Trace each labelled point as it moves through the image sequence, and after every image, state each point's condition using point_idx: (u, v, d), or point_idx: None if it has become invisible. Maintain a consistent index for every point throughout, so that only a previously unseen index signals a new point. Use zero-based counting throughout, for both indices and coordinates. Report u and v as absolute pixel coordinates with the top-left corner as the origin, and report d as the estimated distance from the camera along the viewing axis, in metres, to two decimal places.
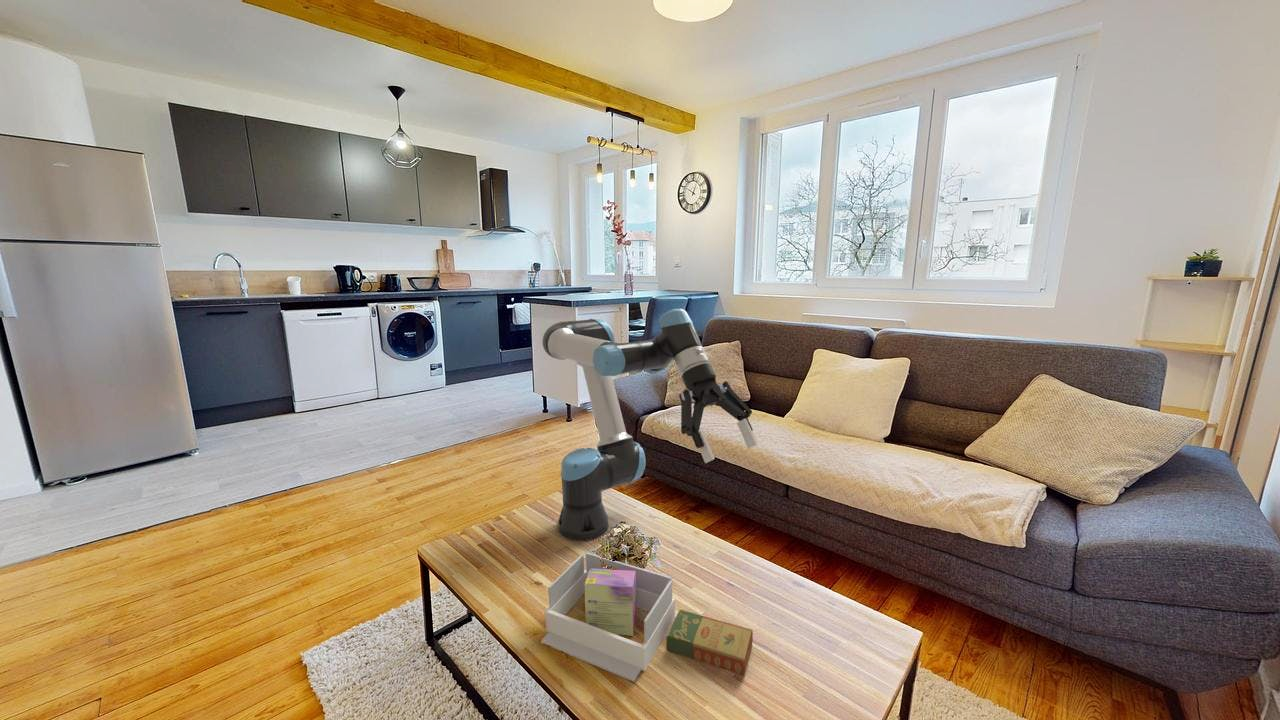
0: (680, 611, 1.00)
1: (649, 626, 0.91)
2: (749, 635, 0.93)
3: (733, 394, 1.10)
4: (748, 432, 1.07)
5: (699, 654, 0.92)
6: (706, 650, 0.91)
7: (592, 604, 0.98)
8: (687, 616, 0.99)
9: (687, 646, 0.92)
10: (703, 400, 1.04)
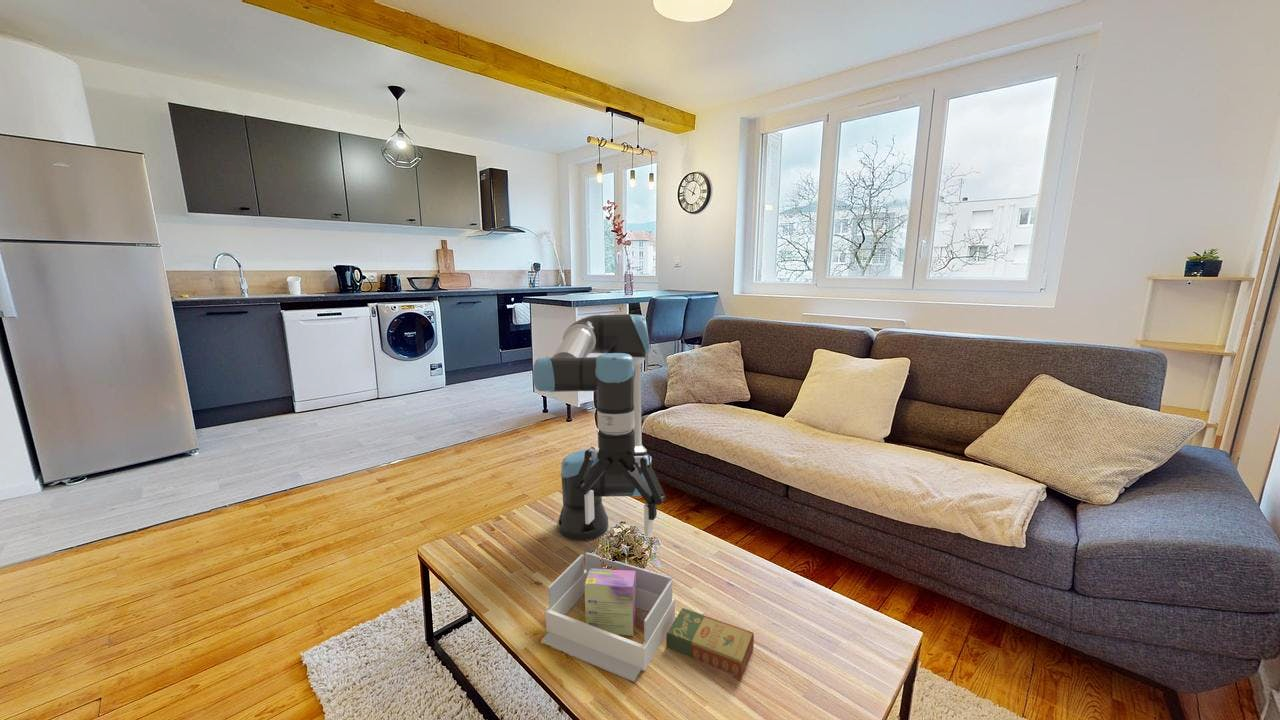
0: (683, 609, 1.01)
1: (649, 626, 0.91)
2: (749, 638, 0.93)
3: (645, 475, 0.92)
4: None
5: (697, 653, 0.92)
6: (704, 650, 0.91)
7: (592, 604, 0.98)
8: (689, 615, 0.99)
9: (686, 644, 0.93)
10: (599, 469, 0.95)
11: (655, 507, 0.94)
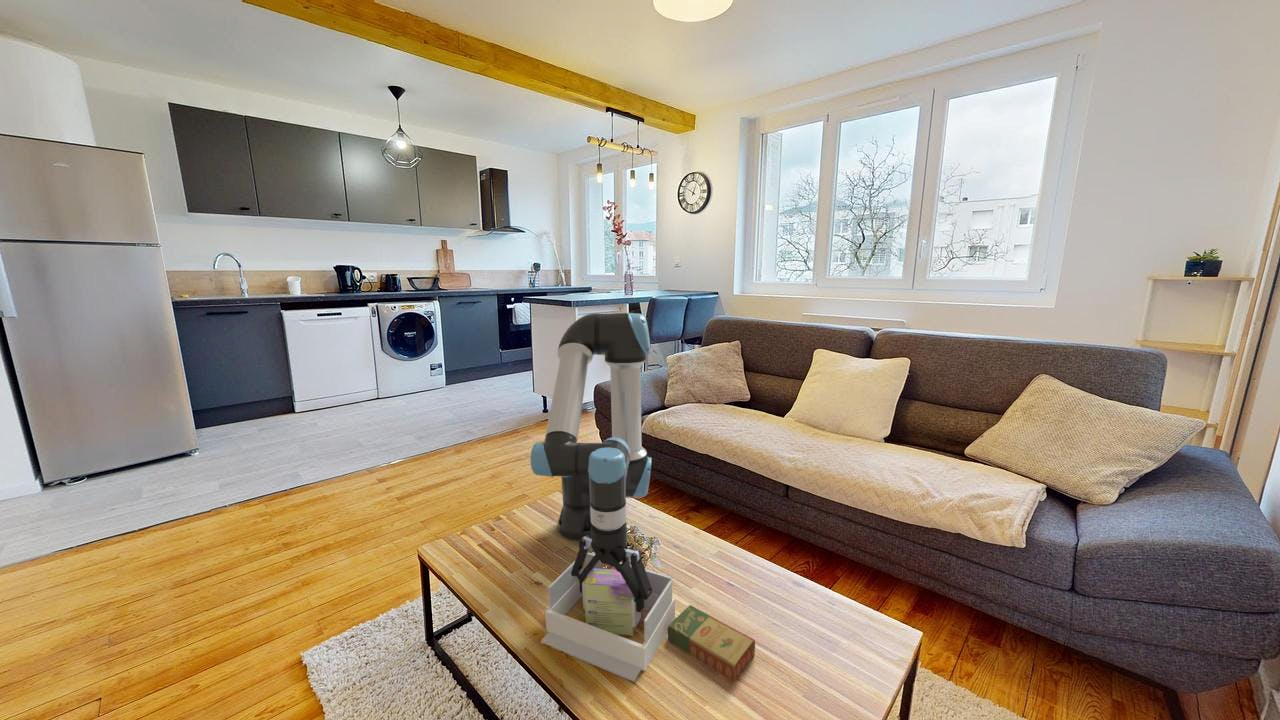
0: (689, 606, 1.02)
1: (649, 626, 0.91)
2: (749, 644, 0.91)
3: (634, 571, 0.95)
4: None
5: (694, 650, 0.92)
6: (700, 648, 0.91)
7: (592, 604, 0.98)
8: (694, 612, 1.00)
9: (684, 639, 0.94)
10: (593, 559, 0.98)
11: (642, 600, 0.97)
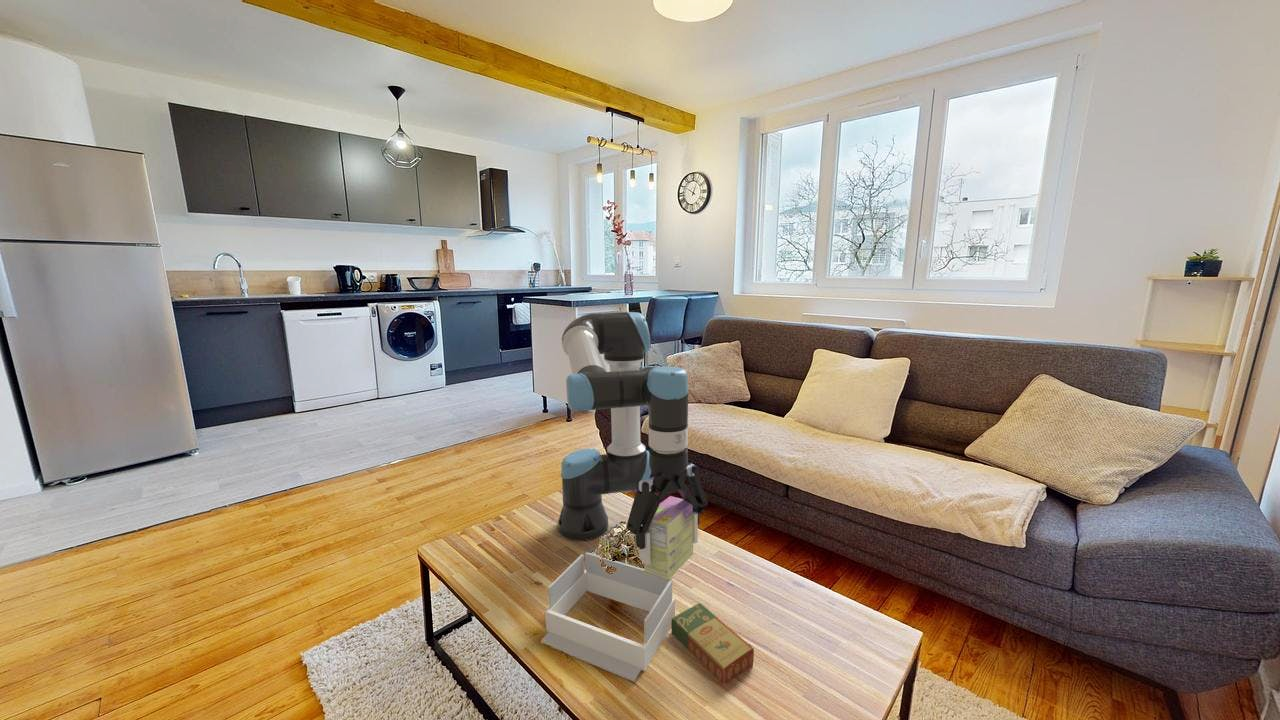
0: (698, 604, 1.02)
1: (649, 626, 0.91)
2: (746, 651, 0.89)
3: (697, 482, 0.94)
4: (693, 528, 0.95)
5: (692, 647, 0.93)
6: (696, 645, 0.92)
7: (672, 543, 0.88)
8: (701, 611, 1.00)
9: (684, 634, 0.95)
10: (662, 496, 0.88)
11: None
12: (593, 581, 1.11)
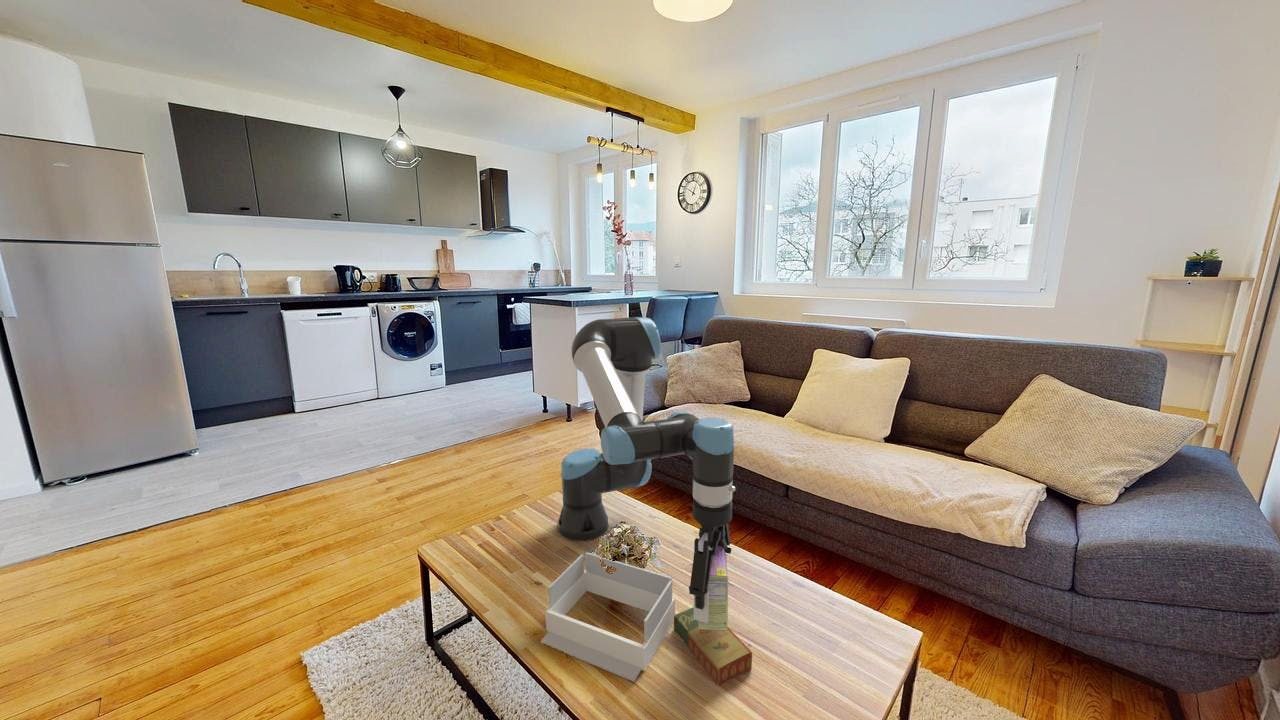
0: None
1: (649, 626, 0.91)
2: (743, 654, 0.89)
3: (727, 525, 0.96)
4: None
5: (691, 645, 0.94)
6: (695, 644, 0.92)
7: None
8: None
9: (685, 632, 0.96)
10: (715, 549, 0.87)
11: None
12: (593, 581, 1.11)
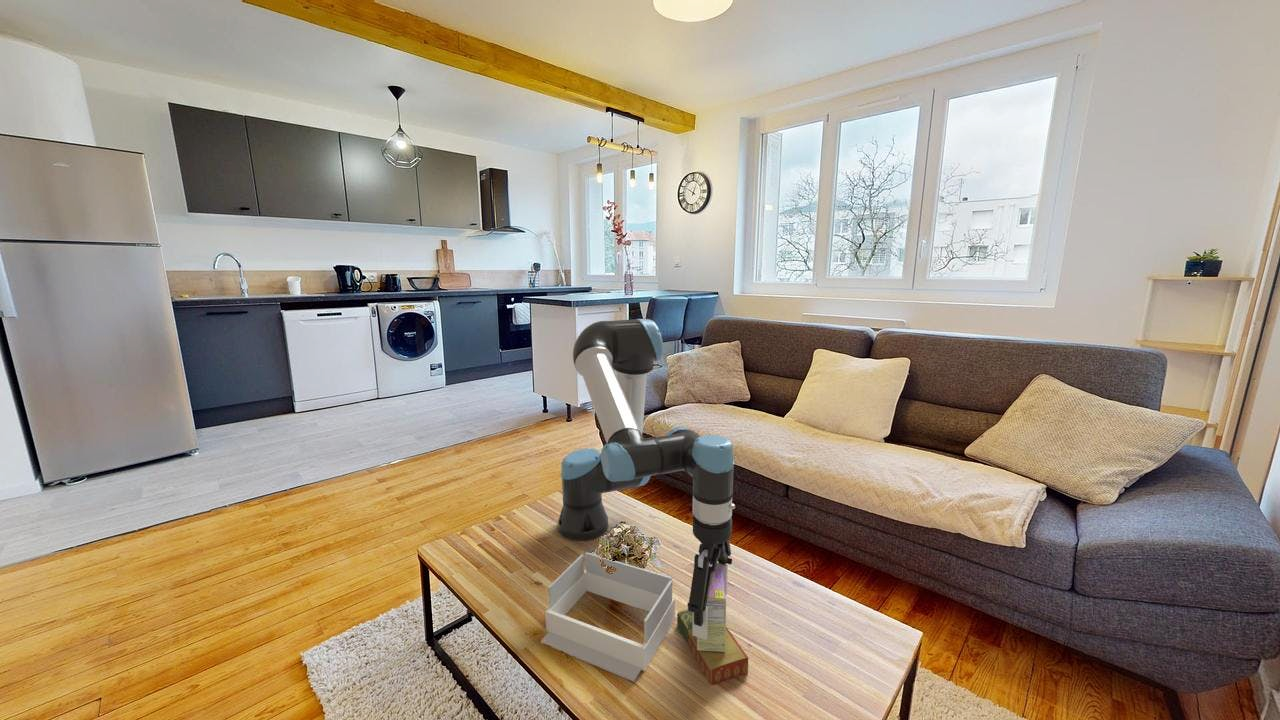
0: None
1: (649, 626, 0.91)
2: (739, 658, 0.88)
3: None
4: (724, 580, 0.98)
5: (690, 644, 0.94)
6: (693, 643, 0.93)
7: None
8: None
9: (685, 630, 0.96)
10: (715, 566, 0.87)
11: None
12: (593, 581, 1.11)
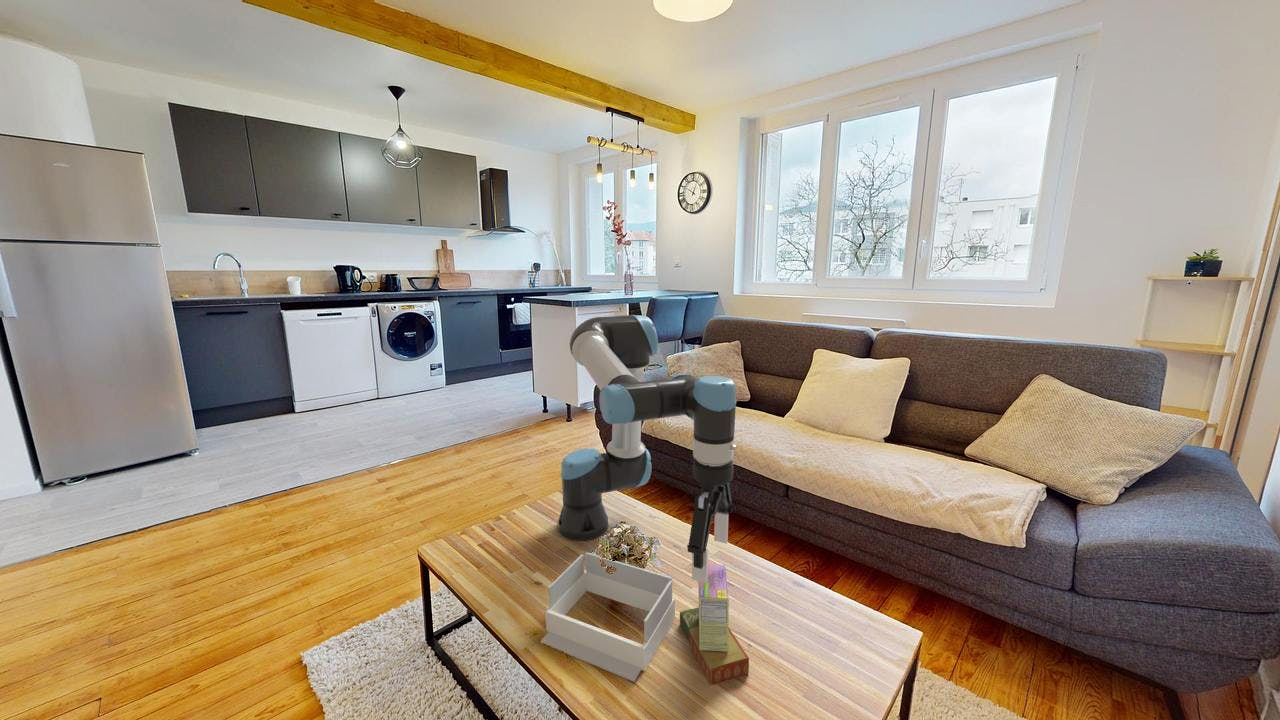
0: None
1: (649, 626, 0.91)
2: (739, 659, 0.88)
3: (728, 485, 0.94)
4: (724, 528, 0.96)
5: (691, 643, 0.95)
6: (694, 642, 0.93)
7: None
8: None
9: (687, 629, 0.97)
10: (716, 509, 0.85)
11: None
12: (593, 581, 1.11)
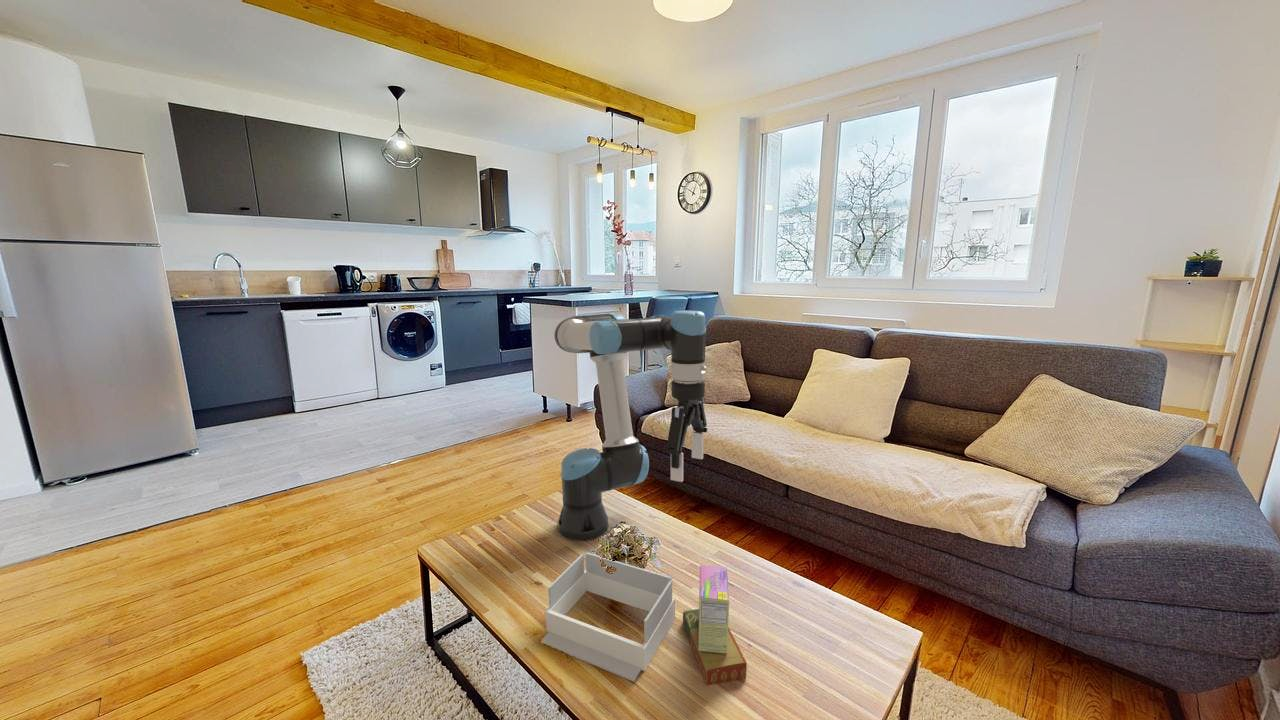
0: None
1: (649, 626, 0.91)
2: (736, 662, 0.87)
3: (702, 408, 1.11)
4: (700, 446, 1.13)
5: (691, 643, 0.95)
6: (694, 642, 0.93)
7: None
8: None
9: (688, 629, 0.97)
10: (690, 420, 1.02)
11: None
12: (593, 581, 1.11)
